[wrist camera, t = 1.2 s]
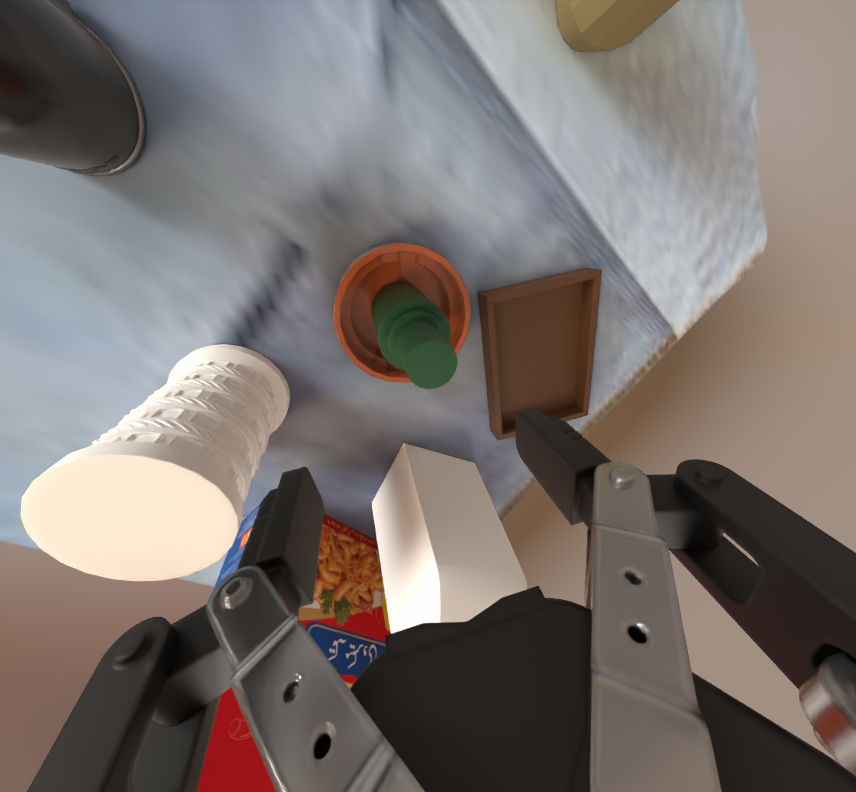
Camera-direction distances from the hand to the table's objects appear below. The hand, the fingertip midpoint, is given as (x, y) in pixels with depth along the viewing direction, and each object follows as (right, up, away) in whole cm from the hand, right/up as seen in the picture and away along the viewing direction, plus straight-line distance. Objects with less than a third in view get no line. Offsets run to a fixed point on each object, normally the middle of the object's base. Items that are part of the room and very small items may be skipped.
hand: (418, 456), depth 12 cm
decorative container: (-21, +3, +23) cm, 32 cm away
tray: (+14, +7, +29) cm, 33 cm away
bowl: (-3, +12, +23) cm, 26 cm away
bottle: (-3, +12, +22) cm, 25 cm away
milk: (0, -11, +35) cm, 37 cm away
